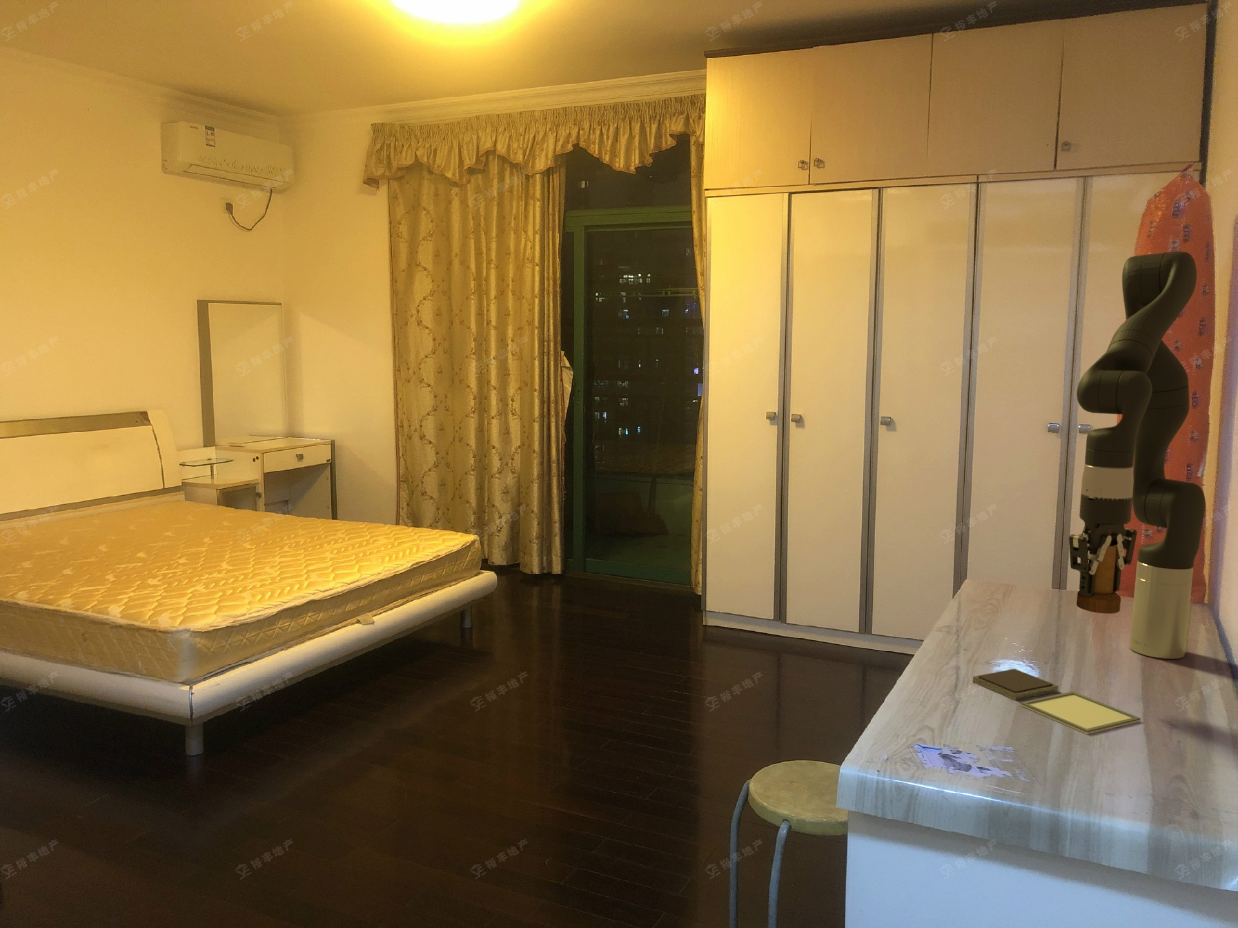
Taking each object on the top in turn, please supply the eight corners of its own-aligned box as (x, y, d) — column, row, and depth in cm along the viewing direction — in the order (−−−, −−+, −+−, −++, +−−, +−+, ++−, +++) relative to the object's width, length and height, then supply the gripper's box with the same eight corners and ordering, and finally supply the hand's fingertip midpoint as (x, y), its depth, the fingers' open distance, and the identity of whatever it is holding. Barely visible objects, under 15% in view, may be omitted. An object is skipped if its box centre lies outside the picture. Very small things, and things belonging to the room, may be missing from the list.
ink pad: (1014, 673, 165) (1014, 667, 165) (1057, 691, 157) (1058, 684, 157) (972, 681, 161) (973, 675, 161) (1015, 700, 153) (1015, 693, 153)
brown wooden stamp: (1125, 615, 152) (1134, 506, 150) (1082, 612, 153) (1090, 504, 151) (1112, 603, 158) (1120, 498, 156) (1071, 601, 160) (1078, 497, 157)
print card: (1072, 694, 156) (1072, 691, 156) (1140, 721, 145) (1140, 717, 145) (1020, 705, 151) (1020, 702, 151) (1087, 734, 140) (1087, 730, 140)
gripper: (1114, 486, 160) (1107, 582, 162) (1056, 492, 153) (1050, 592, 156) (1156, 493, 153) (1148, 593, 155) (1097, 499, 147) (1090, 604, 149)
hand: (1099, 592), depth 156 cm, fingers closed on brown wooden stamp, 5 cm apart
